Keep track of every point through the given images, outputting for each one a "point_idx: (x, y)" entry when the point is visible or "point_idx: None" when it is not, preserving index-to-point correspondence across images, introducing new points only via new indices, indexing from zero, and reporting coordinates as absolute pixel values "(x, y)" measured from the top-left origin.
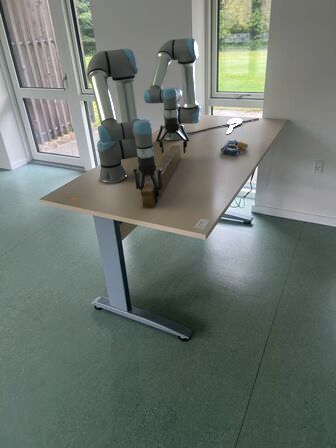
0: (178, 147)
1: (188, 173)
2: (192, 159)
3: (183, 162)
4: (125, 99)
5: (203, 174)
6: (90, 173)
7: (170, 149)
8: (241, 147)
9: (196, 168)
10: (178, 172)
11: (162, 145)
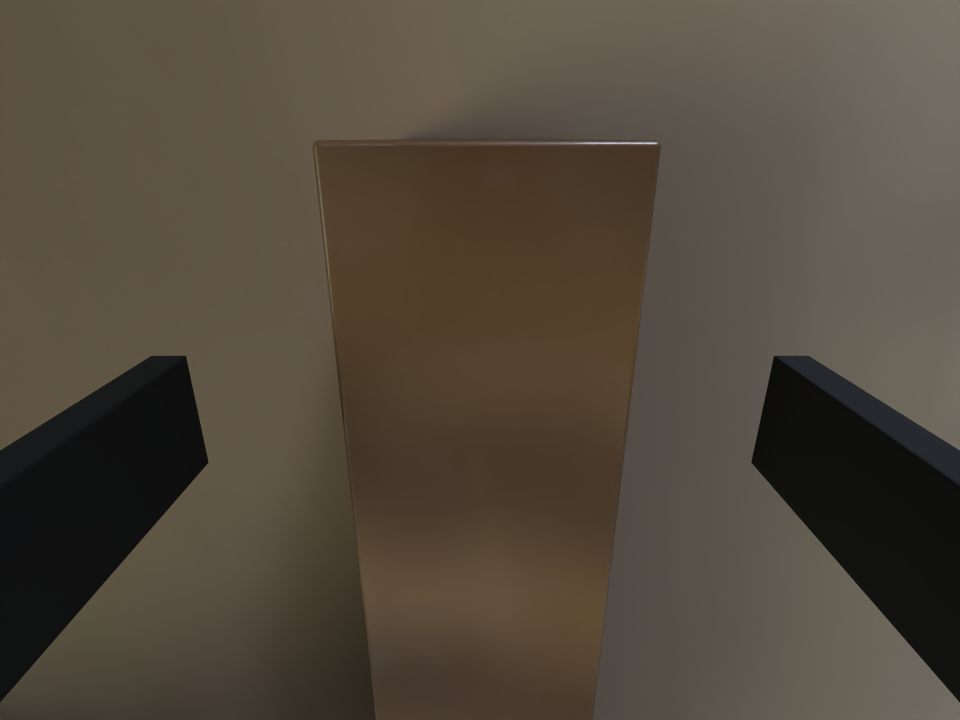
0: (635, 346)
1: (742, 675)
2: (830, 161)
3: (651, 326)
4: None
5: (926, 691)
6: None
7: (405, 540)
8: None
9: None
10: (611, 657)
11: (56, 597)
